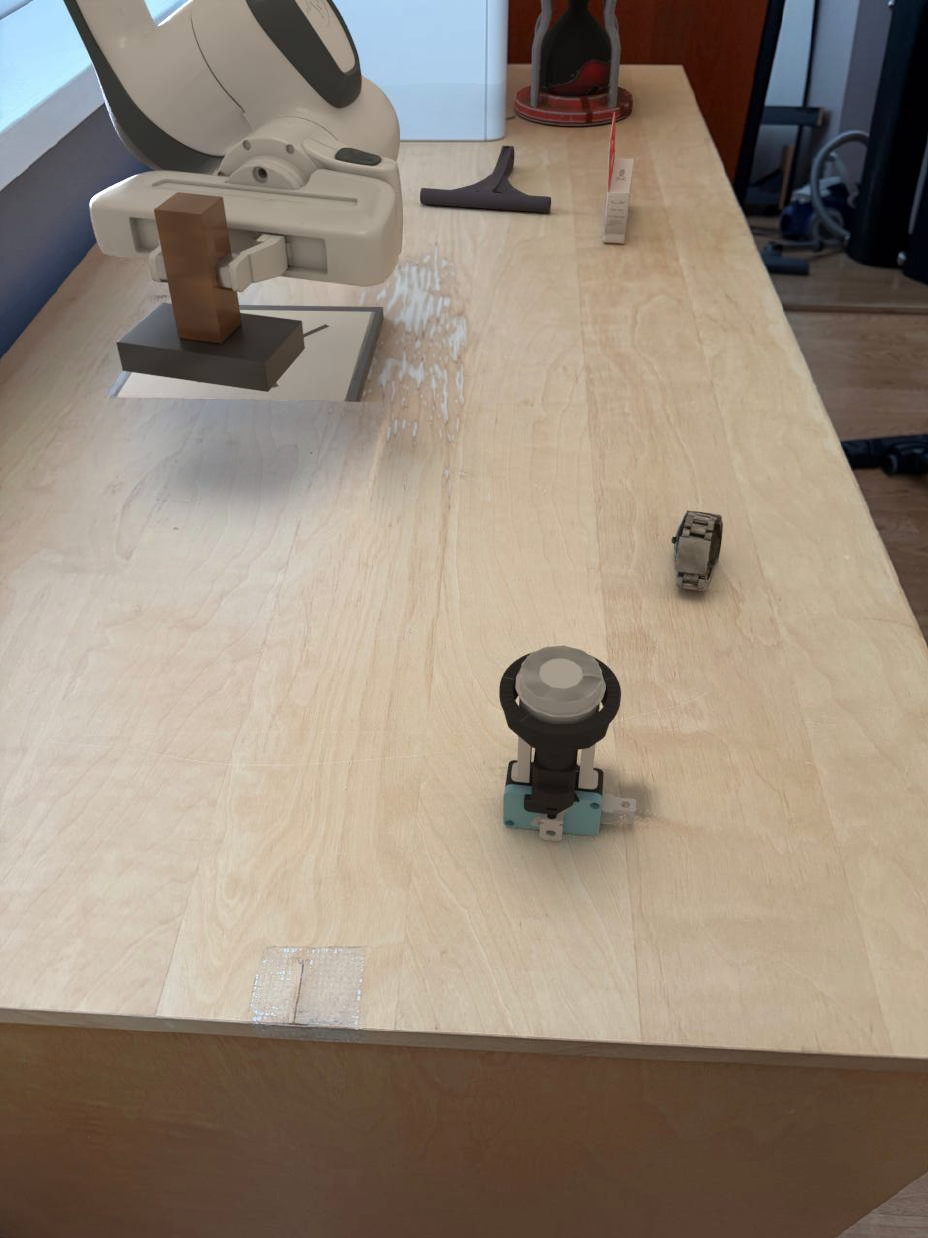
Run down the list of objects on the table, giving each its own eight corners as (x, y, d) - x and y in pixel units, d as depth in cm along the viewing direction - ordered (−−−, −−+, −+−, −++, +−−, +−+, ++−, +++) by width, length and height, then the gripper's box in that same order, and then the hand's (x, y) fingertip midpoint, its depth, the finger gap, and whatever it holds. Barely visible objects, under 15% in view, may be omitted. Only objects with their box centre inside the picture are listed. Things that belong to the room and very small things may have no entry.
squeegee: (568, 170, 124) (569, 145, 122) (548, 214, 113) (549, 188, 111) (450, 163, 126) (450, 139, 124) (420, 207, 115) (418, 181, 113)
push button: (634, 784, 53) (654, 640, 46) (631, 871, 49) (653, 727, 42) (504, 771, 54) (506, 627, 47) (492, 856, 50) (492, 712, 43)
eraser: (122, 371, 66) (84, 212, 59) (167, 329, 70) (136, 177, 64) (268, 392, 64) (246, 230, 57) (305, 348, 68) (288, 193, 62)
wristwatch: (713, 595, 66) (725, 518, 66) (703, 589, 61) (716, 505, 62) (666, 589, 67) (677, 513, 67) (652, 582, 63) (665, 500, 63)
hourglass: (572, 135, 134) (584, -100, 117) (489, 108, 143) (490, -113, 126) (657, 110, 141) (679, -114, 125) (573, 86, 151) (584, -125, 134)
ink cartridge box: (629, 206, 114) (638, 110, 108) (625, 245, 106) (634, 144, 100) (607, 205, 115) (614, 110, 108) (601, 244, 106) (608, 143, 100)
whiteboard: (87, 440, 79) (83, 428, 78) (167, 313, 96) (165, 303, 95) (347, 446, 78) (346, 434, 77) (383, 317, 94) (383, 306, 94)
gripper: (140, 135, 72) (27, 204, 62) (421, 162, 68) (347, 240, 58) (158, 226, 77) (54, 304, 67) (423, 256, 72) (355, 344, 62)
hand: (193, 275), depth 62 cm, fingers closed on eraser, 3 cm apart
